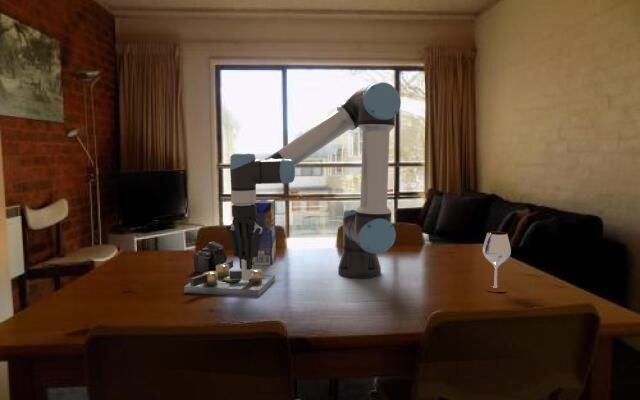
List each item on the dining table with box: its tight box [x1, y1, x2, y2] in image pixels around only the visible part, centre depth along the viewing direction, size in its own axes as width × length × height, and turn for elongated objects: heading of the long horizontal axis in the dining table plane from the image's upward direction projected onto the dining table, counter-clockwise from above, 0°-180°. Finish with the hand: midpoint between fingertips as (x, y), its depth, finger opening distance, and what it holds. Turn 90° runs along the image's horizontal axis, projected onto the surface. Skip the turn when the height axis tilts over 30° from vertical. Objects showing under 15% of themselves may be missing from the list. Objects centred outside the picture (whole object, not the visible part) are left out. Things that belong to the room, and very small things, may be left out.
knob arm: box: [229, 268, 263, 282], centre depth 154 cm, size 10×4×3 cm, turn 96°
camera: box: [192, 241, 228, 274], centre depth 178 cm, size 13×10×10 cm
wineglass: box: [482, 231, 512, 288], centre depth 150 cm, size 8×8×18 cm
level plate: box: [183, 272, 276, 298], centre depth 155 cm, size 24×18×3 cm
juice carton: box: [252, 199, 277, 266], centre depth 190 cm, size 12×8×24 cm, turn 178°
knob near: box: [189, 270, 218, 287], centre depth 149 cm, size 10×4×3 cm, turn 150°
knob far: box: [215, 259, 234, 277], centre depth 164 cm, size 10×4×3 cm, turn 170°
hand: (246, 279), depth 149 cm, fingers closed
